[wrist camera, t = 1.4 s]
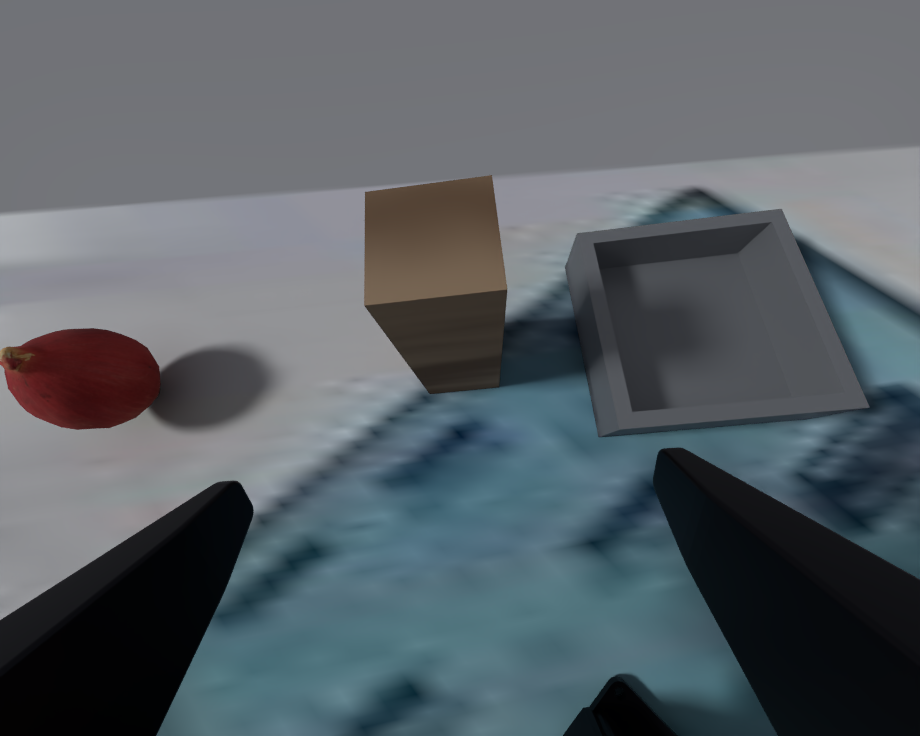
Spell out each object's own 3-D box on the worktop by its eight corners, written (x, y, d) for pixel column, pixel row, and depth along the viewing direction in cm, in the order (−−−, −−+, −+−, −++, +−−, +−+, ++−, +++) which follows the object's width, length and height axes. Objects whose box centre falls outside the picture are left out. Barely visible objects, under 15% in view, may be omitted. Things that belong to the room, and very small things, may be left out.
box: (806, 419, 20) (869, 407, 16) (598, 437, 20) (619, 429, 17) (740, 247, 23) (781, 208, 20) (565, 267, 24) (576, 233, 21)
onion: (101, 437, 23) (-89, 418, 16) (125, 355, 25) (-36, 302, 17) (183, 434, 23) (29, 413, 15) (201, 351, 24) (71, 295, 17)
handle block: (498, 387, 22) (507, 289, 10) (429, 394, 22) (364, 305, 11) (491, 323, 23) (491, 175, 12) (426, 330, 23) (365, 192, 12)
